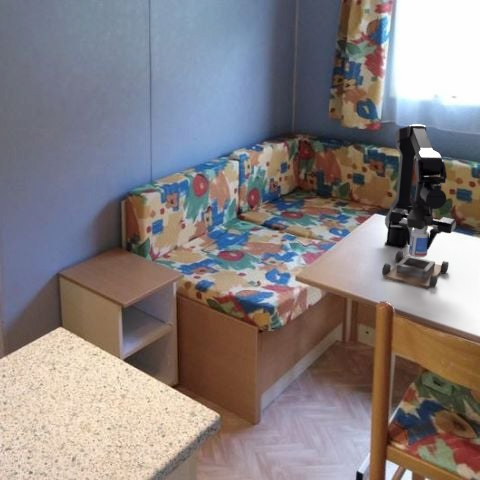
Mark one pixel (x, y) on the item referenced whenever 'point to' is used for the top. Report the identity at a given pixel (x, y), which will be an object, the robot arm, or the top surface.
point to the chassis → (414, 271)
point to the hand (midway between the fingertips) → (418, 246)
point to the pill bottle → (419, 242)
